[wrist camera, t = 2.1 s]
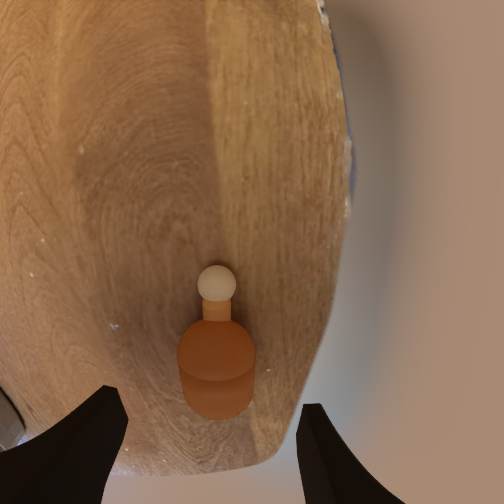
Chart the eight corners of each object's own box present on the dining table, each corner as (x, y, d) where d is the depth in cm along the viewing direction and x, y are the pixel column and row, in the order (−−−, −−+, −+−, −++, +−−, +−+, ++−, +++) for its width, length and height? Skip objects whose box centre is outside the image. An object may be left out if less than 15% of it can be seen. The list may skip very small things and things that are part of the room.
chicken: (252, 387, 15) (252, 434, 11) (191, 384, 15) (181, 429, 11) (258, 261, 12) (260, 296, 9) (180, 258, 12) (157, 292, 9)
